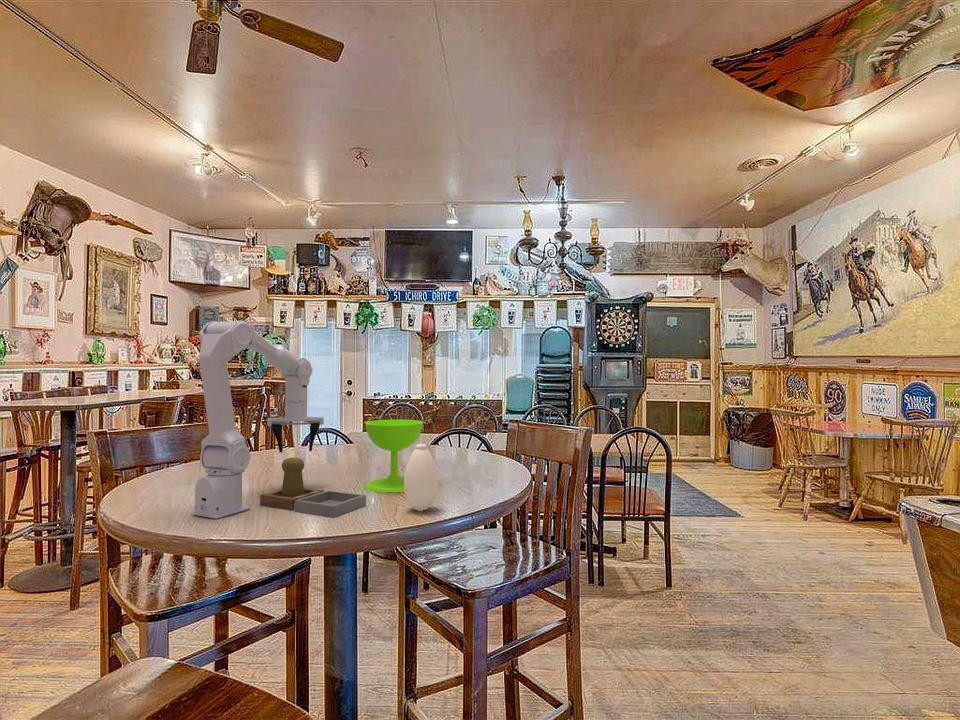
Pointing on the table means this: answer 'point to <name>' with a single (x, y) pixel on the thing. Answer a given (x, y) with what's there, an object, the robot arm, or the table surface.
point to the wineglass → (392, 448)
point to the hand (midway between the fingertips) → (295, 451)
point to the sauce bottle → (420, 478)
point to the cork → (292, 477)
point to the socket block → (284, 498)
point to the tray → (329, 503)
